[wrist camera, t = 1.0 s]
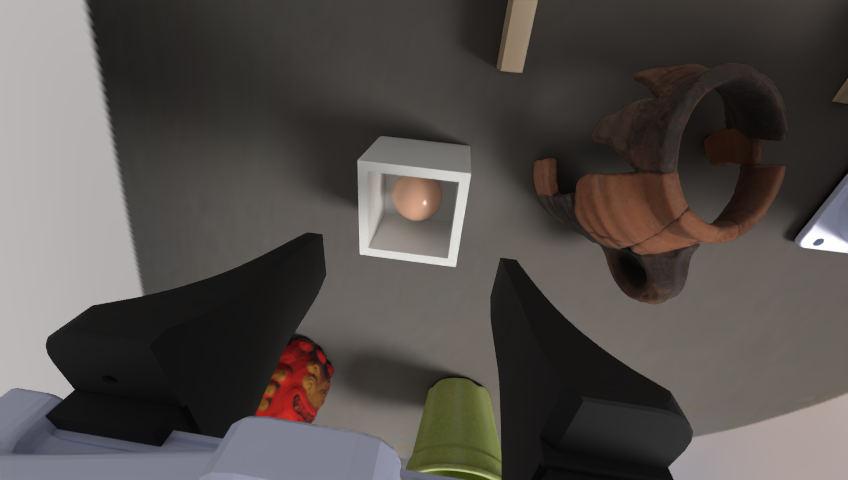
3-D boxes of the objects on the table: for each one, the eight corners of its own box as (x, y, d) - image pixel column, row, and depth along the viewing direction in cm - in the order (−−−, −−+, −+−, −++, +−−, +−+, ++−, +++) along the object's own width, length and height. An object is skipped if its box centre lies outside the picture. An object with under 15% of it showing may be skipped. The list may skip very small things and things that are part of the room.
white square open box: (470, 145, 19) (471, 173, 15) (457, 225, 22) (455, 267, 18) (380, 135, 20) (357, 160, 16) (379, 215, 23) (359, 254, 18)
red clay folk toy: (348, 379, 33) (274, 590, 20) (290, 385, 35) (188, 583, 22) (314, 327, 29) (199, 542, 17) (252, 337, 31) (103, 539, 18)
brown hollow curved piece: (507, 117, 19) (628, 67, 11) (633, 81, 21) (813, 16, 13) (546, 299, 22) (666, 362, 14) (655, 252, 24) (816, 283, 16)
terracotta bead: (446, 166, 20) (443, 184, 17) (441, 210, 21) (437, 232, 19) (398, 160, 20) (388, 177, 17) (396, 204, 21) (387, 226, 19)
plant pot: (512, 420, 33) (524, 526, 26) (424, 423, 36) (414, 522, 28) (499, 361, 29) (511, 468, 22) (401, 368, 31) (380, 468, 24)
